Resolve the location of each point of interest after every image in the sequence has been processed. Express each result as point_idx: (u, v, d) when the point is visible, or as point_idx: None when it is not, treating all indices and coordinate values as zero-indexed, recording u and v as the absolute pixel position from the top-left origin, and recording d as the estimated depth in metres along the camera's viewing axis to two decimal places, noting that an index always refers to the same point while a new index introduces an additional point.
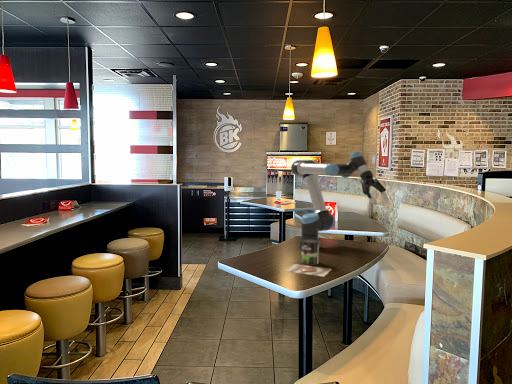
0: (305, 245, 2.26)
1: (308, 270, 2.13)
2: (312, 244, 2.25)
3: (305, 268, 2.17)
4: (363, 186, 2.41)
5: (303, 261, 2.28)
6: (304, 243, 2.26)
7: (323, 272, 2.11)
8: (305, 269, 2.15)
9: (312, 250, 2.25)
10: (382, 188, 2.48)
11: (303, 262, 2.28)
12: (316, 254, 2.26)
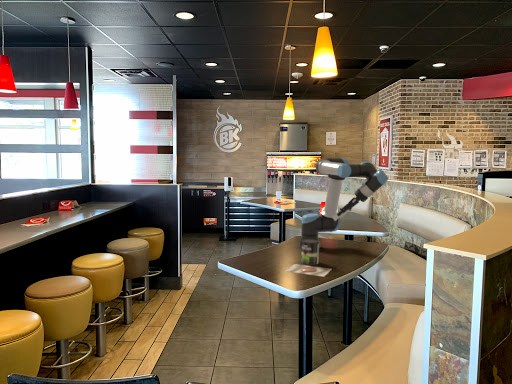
0: (305, 245, 2.26)
1: (308, 270, 2.13)
2: (312, 244, 2.25)
3: (305, 268, 2.17)
4: (348, 205, 2.16)
5: (303, 261, 2.28)
6: (304, 243, 2.26)
7: (323, 272, 2.11)
8: (305, 269, 2.15)
9: (312, 250, 2.25)
10: (351, 208, 2.30)
11: (303, 262, 2.28)
12: (316, 254, 2.26)
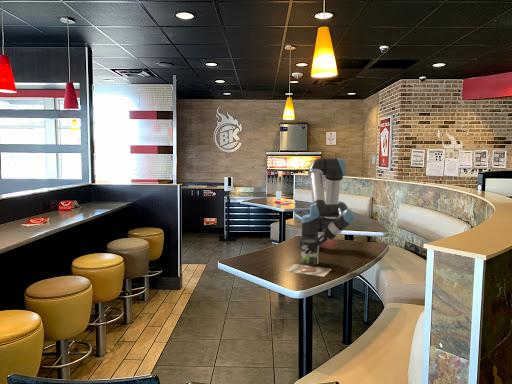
0: (305, 245, 2.26)
1: (308, 270, 2.13)
2: None
3: (305, 268, 2.17)
4: (315, 244, 2.20)
5: (303, 261, 2.28)
6: (304, 243, 2.26)
7: (323, 272, 2.11)
8: (305, 269, 2.15)
9: (312, 250, 2.25)
10: (319, 244, 2.33)
11: (303, 262, 2.28)
12: (316, 254, 2.26)
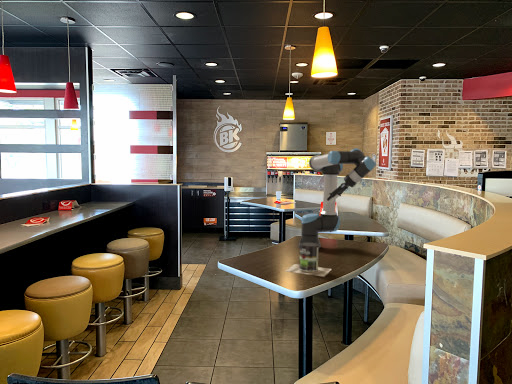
0: (303, 249, 2.10)
1: None
2: (311, 248, 2.09)
3: None
4: (337, 190, 2.25)
5: (301, 266, 2.12)
6: (302, 246, 2.11)
7: (323, 272, 2.11)
8: None
9: (311, 254, 2.09)
10: (341, 193, 2.40)
11: (301, 267, 2.12)
12: (315, 258, 2.11)
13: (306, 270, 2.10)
